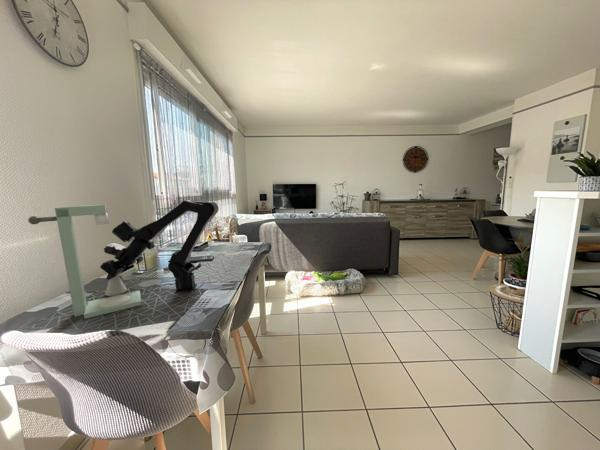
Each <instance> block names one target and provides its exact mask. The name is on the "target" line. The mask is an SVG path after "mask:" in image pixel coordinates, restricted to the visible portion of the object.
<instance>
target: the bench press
mask: <svg viewBox="0 0 600 450" xmlns="http://www.w3.org/2000/svg"><path fill="white" fill-rule="evenodd" d="M54 211H55V216H43V217H42V216H41V217H38V216H37V215H31V216H29V218H27V220H28V223H29V224H31V225H38V224H39V223H44V222H56V221H57V222H56V223H57V226H58V227H57V228H58V233H59V238H60V244H61V249H62V255H63V259H64V266H65V271H66V278H67V282H68V288H69V293H70V298H71V304H72V308H73V309H72V310H73V314H74V317H75V318H76V317H80V316H84V317H83V318H84V320H85V319H89V318H93V317H97V316H102V315H105V314H109V313H114V312H118V311H122V310H125V309H130V308H133V307H138V306H142V295H141V290H136V291H131V292H130V291H129V292H127V293H126V292H125V293H122V294H119V295H116V296H107V297H103V298H98V299H94V300H89V301H87V297H86V290H85V286H84V280H83V274H82V269H81V263H80V256H79V251H78V247H77V245H78V244H77V241H76V234H75V229H74V223H73V217H78V216H79V217H81V216H93V215H94V220H95V221H94V222H95V225H97V226H99V225H109V224H110V223H109V222H110V221H109V214H108V212H107V206H106V204H94V205H93V204H91V205H76V206H73V205H72V206H58V207H54Z"/></svg>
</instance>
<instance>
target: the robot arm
mask: <svg viewBox="0 0 600 450" xmlns="http://www.w3.org/2000/svg"><path fill="white" fill-rule="evenodd" d="M188 212H192V213H196V214H197V216H196V221H195V223H194V225H193V227H192V228H191V230H190V232H189V233H188V236H187V238H186V239H185V241H184V243H183V244H182V247H181V248H180V249H178V250H176V251H174V252H173V253H171V256H170V259H169V260H168V261H167V263H168V264H167V265H168V266H167V268H168V270H169V271H170V272H171V273H172V275H173V277H174V283H175V284H174V285H175V292H177V293H178V292H191V291H193V290H194V289H195V288H196V287H197V286H198V285H197V283H196V282H195V281H196V280H195V272H194V271H195V268H196V266H195V265H194V264H193V263H191V258H192V257H191V256H192V253H193V250H194V249H195V247H196V244H197V243H198V241H199V240H200V238H201V236H202V234H203V232H204V231H205V230H206V229H205V228H206V227H207V225H208V224H209V223H210V221H211V220H213V218H214V217H215V216H216V215H217V214H218V213H219V206H218V204H217V203H216V202H215V201H212V200H211V201H206V202H205V201H195V200H191V199H186V200H183V201H182V202H180V204H178V205H177V206H175V207H174V208H172V209H171V210H170V211H169V212H167V213H166V214H164V215H163V216H162V217H160V218H159V219H157V220H155V221H152V222H150V223H148V224H145V225H144V226H142V227H140V228H136V227H135V226H133V225H132V224H131V223H130V222H129V221H128V220H125V221H122V222H121V223H120V224H118V225H117V226H116V227H114V228H113V229H112V231H111V233H112V234H113V235H114V236H116V237H117V239H119V240H120V241H122V242H123V243H127V242H128V243H129V244H128V245H127V247H126V246H124V245H122V244H119V243H117V242H116V243H115V242H112V243H109V244H107V245H106V246H105V247H104V248H103V250H104V253H105V254H107V255H110V256H114V259H115V260H114V259H112V260H111V259H109V260H107V261H105V262H103V263H101V265H100V266H99V267H100V269H101V270H102V271H104V272H105V273H107V276H106V280H108V281H109V280H110V279H112V278H114V277H116V276H118V275H119V276H120V275H122V274H123V273H125V272H127V271H129V270H131V269H132V268H135V264H136V266H138V265H139V264H141V263H142V262H143V261H144V257H143V255H144V254H143V253H144V252H145V251H146V250H147V249H148V250H153V249H155V243H154V242H155V241H151V240H153V239H156V238H159V237H160V236H161V235H162V234H163V232H165V230H166V229H167V228H168V227H169V226H170V225H172V224H173V223H175V221H177V220H178V219H179V218H181V217H182V216H184V215H185V214H186V213H188Z"/></svg>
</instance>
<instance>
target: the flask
mask: <svg viewBox="0 0 600 450" xmlns="http://www.w3.org/2000/svg"><path fill="white" fill-rule="evenodd" d="M127 291H128V288H127V287H126V284H124V283H123V281H122V279H121V278H120V275H118V276H116V277H114V278H112V279H110V280H108V283H107V287H106V290H105V293H104V295H105V296H107V297H112V296H117V295H121V294H125V293H126V292H127Z"/></svg>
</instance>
